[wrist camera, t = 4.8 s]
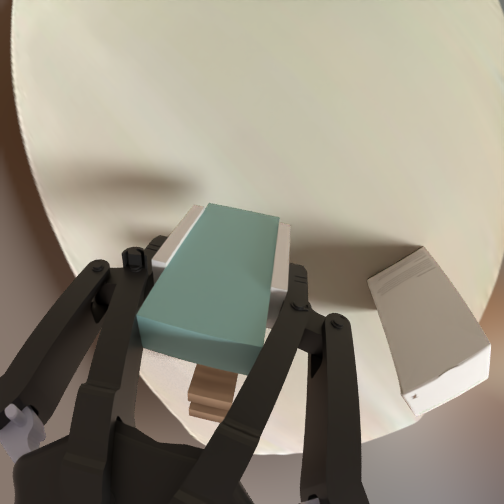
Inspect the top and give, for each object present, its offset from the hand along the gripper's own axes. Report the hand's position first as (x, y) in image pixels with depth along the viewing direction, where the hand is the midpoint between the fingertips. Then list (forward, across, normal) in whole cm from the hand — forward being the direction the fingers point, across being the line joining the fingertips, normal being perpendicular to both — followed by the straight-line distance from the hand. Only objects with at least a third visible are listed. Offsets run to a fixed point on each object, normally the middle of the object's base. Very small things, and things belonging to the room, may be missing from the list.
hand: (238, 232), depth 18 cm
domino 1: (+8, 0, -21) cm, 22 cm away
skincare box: (+9, +19, -6) cm, 22 cm away
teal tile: (+1, 0, 0) cm, 1 cm away
